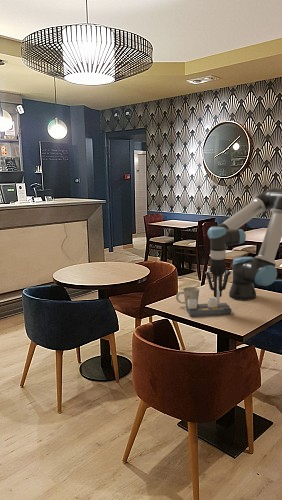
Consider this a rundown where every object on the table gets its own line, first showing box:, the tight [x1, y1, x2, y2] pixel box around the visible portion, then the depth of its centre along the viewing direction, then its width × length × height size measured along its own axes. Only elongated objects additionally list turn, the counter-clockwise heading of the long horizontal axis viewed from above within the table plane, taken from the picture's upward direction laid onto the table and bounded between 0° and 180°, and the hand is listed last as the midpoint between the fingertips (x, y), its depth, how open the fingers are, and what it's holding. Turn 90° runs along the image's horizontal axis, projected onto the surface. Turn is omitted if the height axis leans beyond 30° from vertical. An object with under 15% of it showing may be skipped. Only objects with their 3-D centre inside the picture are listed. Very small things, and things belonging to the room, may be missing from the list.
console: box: [186, 302, 232, 318], centre depth 203 cm, size 21×10×3 cm, turn 94°
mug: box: [175, 286, 200, 309], centre depth 212 cm, size 8×13×10 cm, turn 78°
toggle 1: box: [188, 299, 197, 309], centre depth 202 cm, size 4×4×4 cm
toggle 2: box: [207, 297, 217, 308], centre depth 203 cm, size 4×4×4 cm
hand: (217, 302), depth 203 cm, fingers closed
